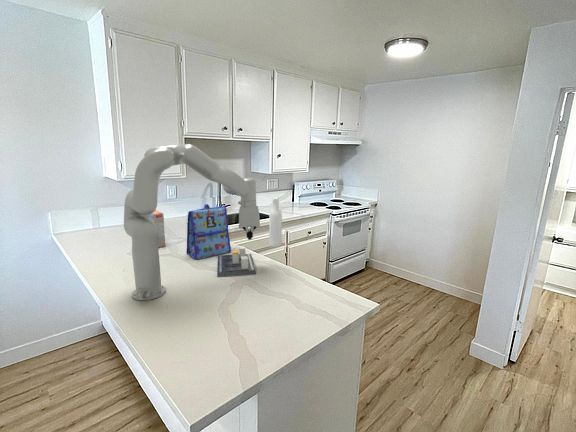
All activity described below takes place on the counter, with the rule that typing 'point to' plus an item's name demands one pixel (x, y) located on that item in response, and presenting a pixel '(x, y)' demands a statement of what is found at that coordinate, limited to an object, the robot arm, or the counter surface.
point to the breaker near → (244, 262)
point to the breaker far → (242, 251)
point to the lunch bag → (207, 232)
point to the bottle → (275, 225)
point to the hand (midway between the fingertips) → (249, 239)
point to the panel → (234, 266)
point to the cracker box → (159, 226)
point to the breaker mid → (235, 256)
